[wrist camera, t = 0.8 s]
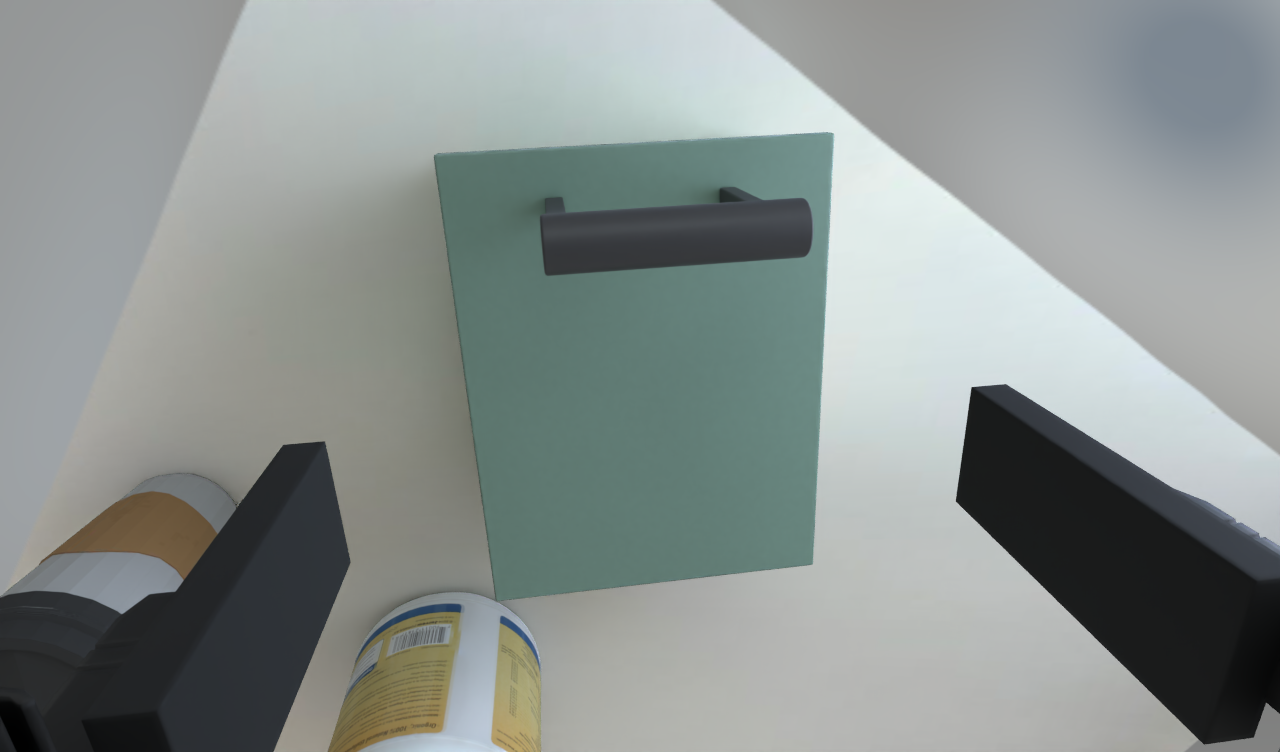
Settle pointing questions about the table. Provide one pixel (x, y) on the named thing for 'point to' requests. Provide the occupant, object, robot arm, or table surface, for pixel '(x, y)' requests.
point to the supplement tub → (444, 681)
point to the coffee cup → (105, 577)
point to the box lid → (642, 354)
